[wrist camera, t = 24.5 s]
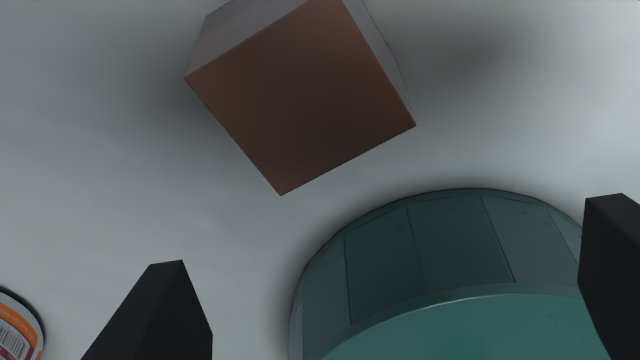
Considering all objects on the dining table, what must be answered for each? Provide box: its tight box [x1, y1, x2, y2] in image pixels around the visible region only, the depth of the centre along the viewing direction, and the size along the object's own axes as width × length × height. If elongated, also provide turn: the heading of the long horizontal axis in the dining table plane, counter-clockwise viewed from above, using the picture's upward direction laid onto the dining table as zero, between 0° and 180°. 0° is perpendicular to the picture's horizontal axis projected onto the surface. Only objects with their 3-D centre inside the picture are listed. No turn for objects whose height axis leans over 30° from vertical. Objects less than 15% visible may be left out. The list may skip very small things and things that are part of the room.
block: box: [184, 0, 416, 196], centre depth 17 cm, size 4×4×4 cm
